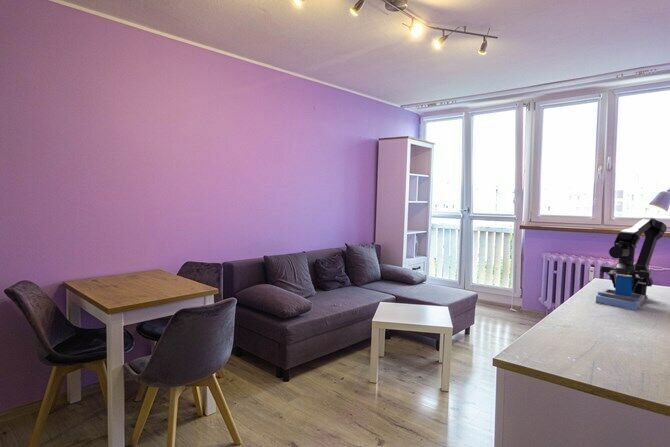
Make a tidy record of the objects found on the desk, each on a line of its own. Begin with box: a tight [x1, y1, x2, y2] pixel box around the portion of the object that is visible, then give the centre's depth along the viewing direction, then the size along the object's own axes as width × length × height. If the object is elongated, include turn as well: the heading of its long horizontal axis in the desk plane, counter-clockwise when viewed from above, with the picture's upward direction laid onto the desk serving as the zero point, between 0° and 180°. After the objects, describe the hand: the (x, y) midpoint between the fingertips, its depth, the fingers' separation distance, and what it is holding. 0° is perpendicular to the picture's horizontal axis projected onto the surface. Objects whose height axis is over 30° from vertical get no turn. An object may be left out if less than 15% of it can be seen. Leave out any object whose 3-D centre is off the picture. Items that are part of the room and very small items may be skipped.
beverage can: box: [614, 274, 633, 297], centre depth 184 cm, size 6×6×12 cm
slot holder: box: [595, 288, 646, 311], centre depth 181 cm, size 21×15×4 cm
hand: (623, 289), depth 184 cm, fingers open, 7 cm apart
